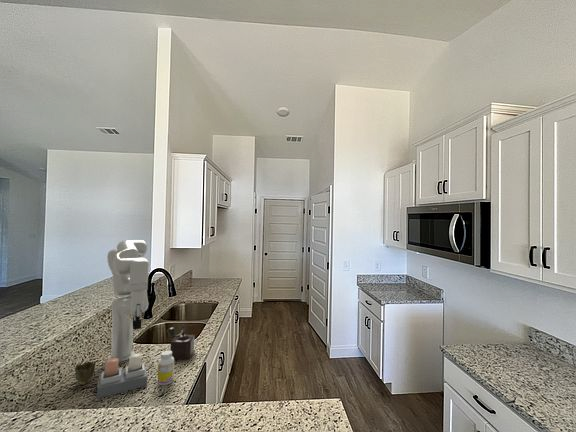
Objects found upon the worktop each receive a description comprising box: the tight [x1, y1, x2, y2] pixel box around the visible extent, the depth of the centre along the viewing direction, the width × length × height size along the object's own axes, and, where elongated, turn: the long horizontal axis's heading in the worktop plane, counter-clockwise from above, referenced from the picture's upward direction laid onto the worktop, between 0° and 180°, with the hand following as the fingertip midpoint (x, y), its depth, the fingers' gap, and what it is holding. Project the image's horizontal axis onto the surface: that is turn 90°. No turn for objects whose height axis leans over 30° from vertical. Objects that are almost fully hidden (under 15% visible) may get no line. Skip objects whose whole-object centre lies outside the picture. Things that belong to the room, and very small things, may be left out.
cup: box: [74, 361, 96, 386], centre depth 119 cm, size 8×7×8 cm
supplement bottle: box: [157, 350, 175, 386], centre depth 122 cm, size 7×7×13 cm
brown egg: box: [104, 358, 119, 375], centre depth 117 cm, size 5×5×5 cm
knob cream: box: [128, 352, 143, 370], centre depth 121 cm, size 5×5×5 cm
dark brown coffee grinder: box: [167, 324, 195, 361], centre depth 145 cm, size 16×11×18 cm
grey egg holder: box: [96, 362, 148, 399], centre depth 119 cm, size 12×18×6 cm, turn 122°
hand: (136, 327), depth 122 cm, fingers open, 3 cm apart
